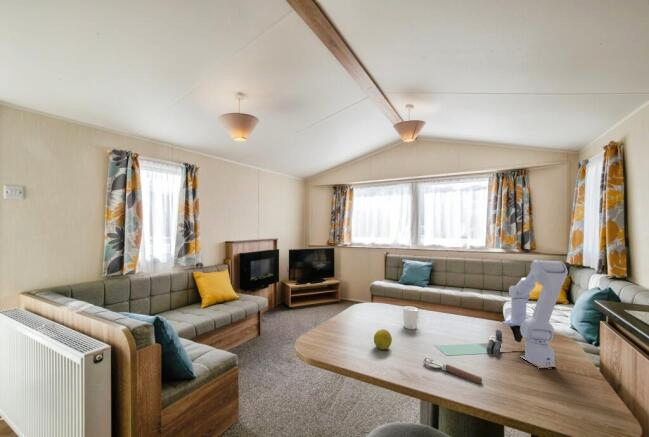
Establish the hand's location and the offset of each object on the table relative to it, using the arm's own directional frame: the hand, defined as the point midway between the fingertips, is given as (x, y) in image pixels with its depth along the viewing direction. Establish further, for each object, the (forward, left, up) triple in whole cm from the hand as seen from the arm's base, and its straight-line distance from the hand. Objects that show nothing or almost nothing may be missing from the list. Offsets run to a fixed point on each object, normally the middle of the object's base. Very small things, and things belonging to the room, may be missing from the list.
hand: (517, 341), depth 127 cm
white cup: (+27, +40, -3) cm, 48 cm away
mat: (0, +20, -3) cm, 20 cm away
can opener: (0, +12, -3) cm, 12 cm away
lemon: (+5, +64, -3) cm, 64 cm away
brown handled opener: (-16, +45, -3) cm, 48 cm away
